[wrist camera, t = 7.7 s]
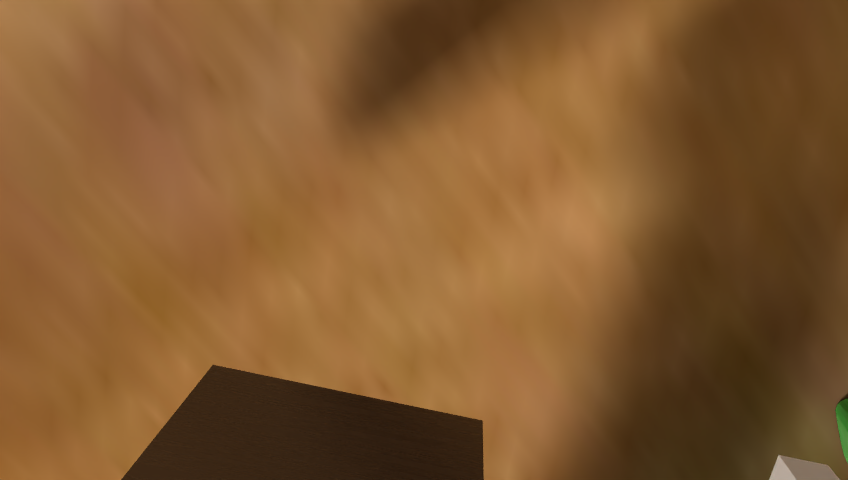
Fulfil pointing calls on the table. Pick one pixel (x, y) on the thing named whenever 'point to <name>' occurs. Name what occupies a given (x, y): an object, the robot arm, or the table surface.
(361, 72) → the table surface
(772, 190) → the table surface
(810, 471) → the robot arm
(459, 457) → the shaft
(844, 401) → the fruit basket
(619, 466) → the table surface
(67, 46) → the table surface
